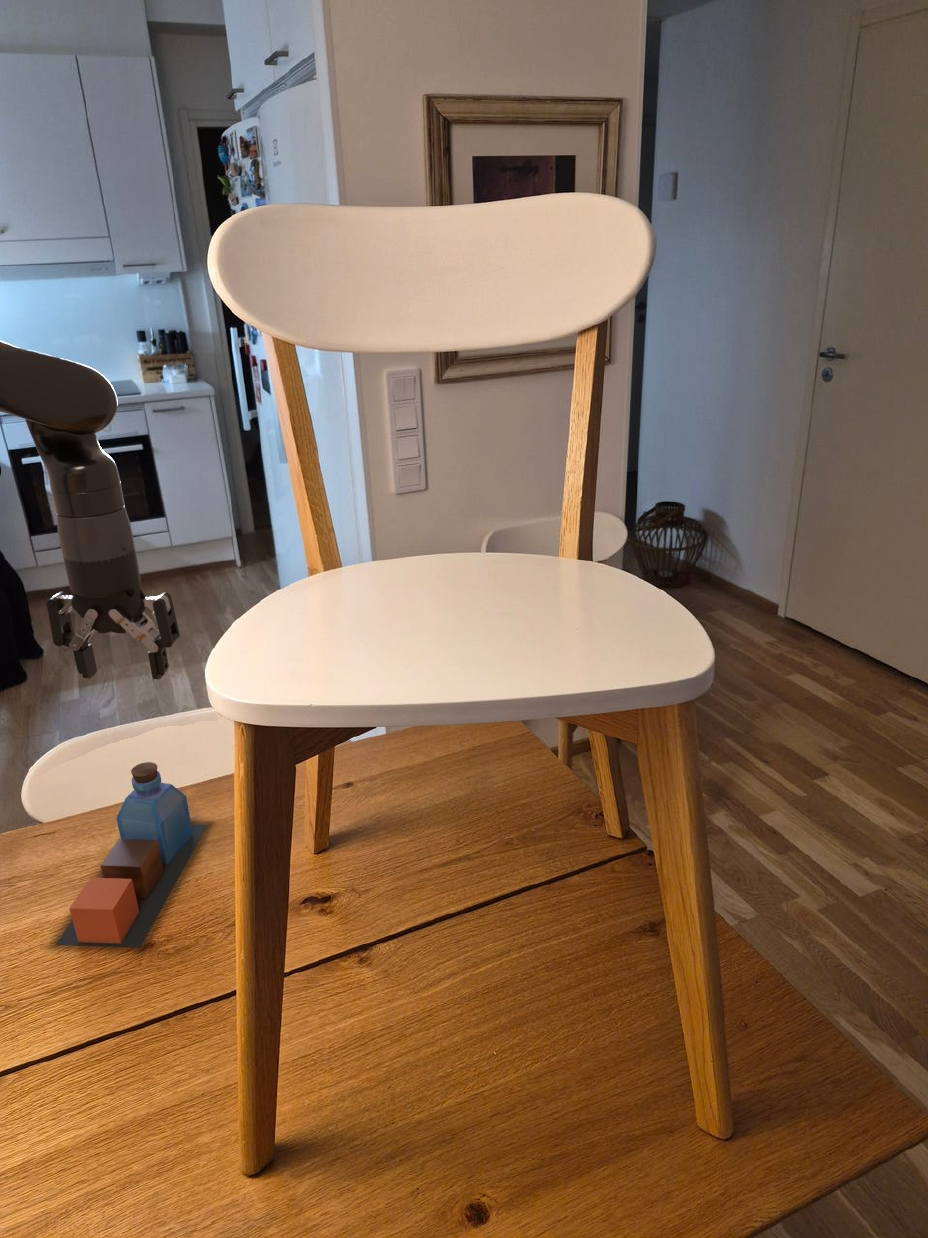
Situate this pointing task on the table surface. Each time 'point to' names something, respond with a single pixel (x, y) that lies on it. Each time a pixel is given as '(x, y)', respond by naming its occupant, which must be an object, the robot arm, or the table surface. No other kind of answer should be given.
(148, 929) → the mat
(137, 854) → the walnut block
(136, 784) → the perfume bottle
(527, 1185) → the table surface
